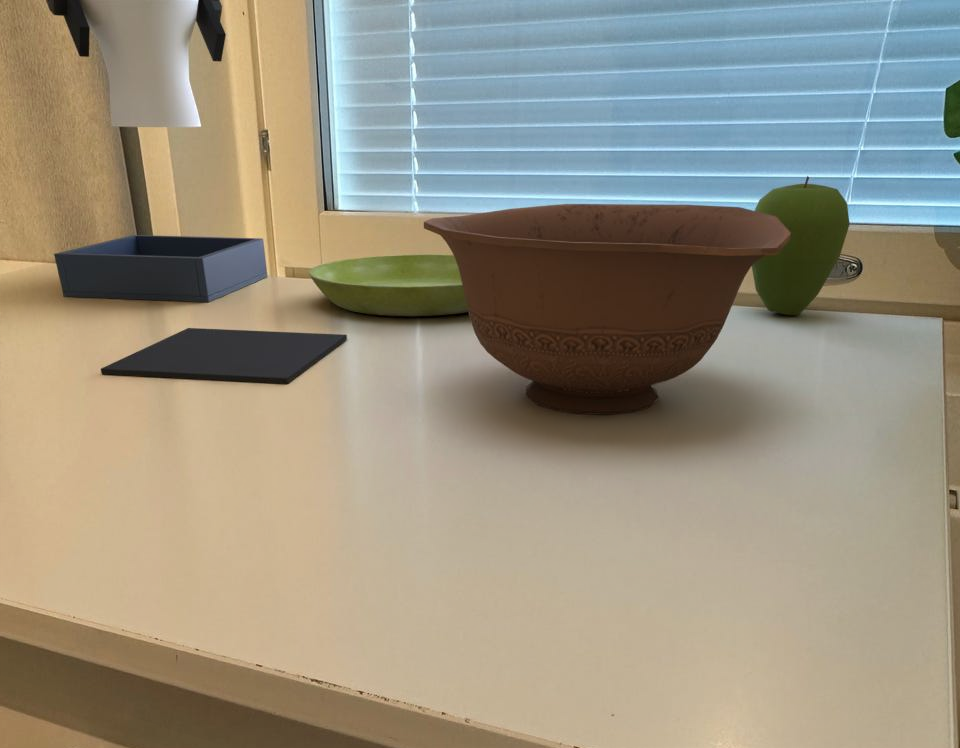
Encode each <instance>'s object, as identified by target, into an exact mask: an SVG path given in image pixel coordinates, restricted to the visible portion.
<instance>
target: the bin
mask: <svg viewBox="0 0 960 748" xmlns="http://www.w3.org/2000/svg"><path fill="white" fill-rule="evenodd" d="M265 250H266V249H265V241H264V238H256V237H224V236H191V235H190V236H185V235H154V234H153V235H149V234H148V235H147V234H132V235H127V236H123V237H118V238H115V239H114V238H113V239H110V240H106V241H103V242H98V243H94V244H89V245H86V246H82V247H77V248H73V249H67V250H65V251H59V252H56V253H54V254H53V256H54V260H55V265H56V269H57V273H58V278H59V282H60V286H61V291H62V295H63V297H65V298H88V299H89V298H91V299H92V298H93V299H115V300H116V299H117V300H141V301H143V300H144V301H166V302H167V301H172V302H193V303H195V302H196V303H210V302H212V301H215V300H217V299H219V298H222V297H224V296H227V295H229V294H231V293H233V292H236V291H237V290H240V289H243V288H245V287H247V286H249V285H252V284H254V283H256V282H259V281H261V280H264V279H266V278H268V277H269V276H268V269H267V261H266V260H267V259H266V251H265Z"/></svg>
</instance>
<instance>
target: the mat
mask: <svg viewBox="0 0 960 748" xmlns="http://www.w3.org/2000/svg"><path fill="white" fill-rule="evenodd" d="M347 340H348V335H347V334H342V333H341V334H339V333H338V334H337V333H315V332H292V331H290V332H289V331H269V330H246V329H224V328H202V327H201V328H200V327H199V328H197V327H186V328H185V329H183V330H181V331H179V332H177V333H175V334H171V335H170V336H168V337H166V338H163V339H161V340H159V341H157V342H155V343H153V344H151V345H148V346H147V347H144V348H142V349H140V350H138V351H136V352H135V351H134V353H131V354H129V355H127V356H125V357H123V358H120V359H119V360H116V361H114V362H111V363H110V364H107V365H105V366H103V367H101V368H100V374H101V375H109V376H111V375H112V376H128V377H129V376H131V377H149V378H150V377H152V378H167V379H169V378H170V379H189V380H206V381H207V380H209V381H225V382H226V381H227V382H228V381H229V382H244V383H245V382H246V383H247V382H248V383H268V384H286V385H287V384H290V382H291V381H293V380H295V379H296V378H297V377H298V376H300V375H301V374H303V373H304V372H306V370H308V369H310V368H311V367H312V366H313V365H314V364H316V363H317V362H319V361H321V359H323V358H324V357H325V356H327V355H328V354H330V353H331V352H333V350H335V349H337V348H338V347H339V346H340V345H342V344H343V343H345V342H346V341H347Z"/></svg>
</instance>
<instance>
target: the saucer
mask: <svg viewBox="0 0 960 748" xmlns="http://www.w3.org/2000/svg"><path fill="white" fill-rule="evenodd" d="M308 275H309V276H310V278H311V280H312V281H313V283H314V285H316V287H317V288H318V289H319V291H320V292H321V293H322V294H323V295H324V296H325V297H326V298H327V299H328V300H330V301H331V302H332V303H333V304H334V305H336V306H338V308H341V309H343V310H346V311H350V312H354V313H360V314H366V315H373V316H385V317H386V316H388V317H433V316H434V317H435V316H436V317H437V316H447V315H457V314H464V313H465V314H466V313H469V312H468V308H467V303H466V299H465V294H464V289H463V285H462V280H461V276H460V272H459V268H458V265H457V262H456V259H455V257H454V255H453V254H440V253H439V254H438V253H437V254H428V253H427V254H393V255H377V256H367V257H356V258H349V259H341V260H335V261H331V262H325V263H322V264H320V265H316V266H313V267H311V269H309V271H308Z"/></svg>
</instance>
